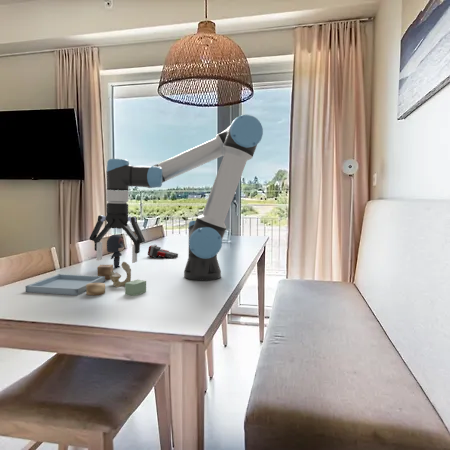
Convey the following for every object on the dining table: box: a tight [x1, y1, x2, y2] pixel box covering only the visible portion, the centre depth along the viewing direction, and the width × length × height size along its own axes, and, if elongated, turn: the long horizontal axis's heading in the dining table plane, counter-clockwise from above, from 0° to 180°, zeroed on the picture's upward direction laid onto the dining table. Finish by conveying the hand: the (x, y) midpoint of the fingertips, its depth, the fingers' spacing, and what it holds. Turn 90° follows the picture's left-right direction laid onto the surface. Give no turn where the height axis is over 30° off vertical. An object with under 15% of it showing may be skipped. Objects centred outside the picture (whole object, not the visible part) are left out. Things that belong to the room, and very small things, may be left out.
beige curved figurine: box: [109, 261, 132, 288], centre depth 135 cm, size 9×6×10 cm
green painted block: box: [124, 278, 147, 297], centre depth 125 cm, size 4×6×4 cm, turn 151°
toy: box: [106, 234, 125, 269], centre depth 166 cm, size 9×8×15 cm
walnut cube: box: [96, 264, 114, 281], centre depth 146 cm, size 5×5×5 cm
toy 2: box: [147, 244, 179, 259], centre depth 195 cm, size 9×6×15 cm
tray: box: [24, 273, 106, 296], centre depth 132 cm, size 19×19×2 cm
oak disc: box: [85, 282, 106, 297], centre depth 124 cm, size 6×6×3 cm
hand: (116, 261), depth 134 cm, fingers open, 13 cm apart
